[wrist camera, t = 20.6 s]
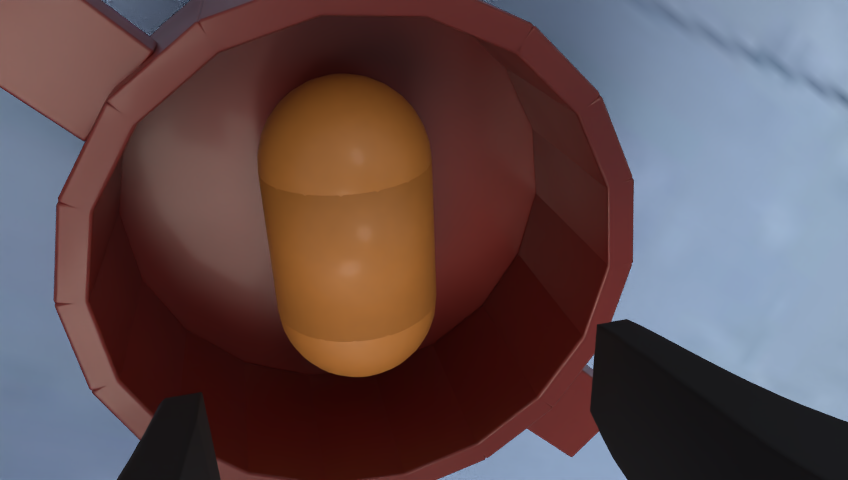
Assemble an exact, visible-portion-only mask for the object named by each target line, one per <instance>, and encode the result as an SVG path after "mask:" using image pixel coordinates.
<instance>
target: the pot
mask: <svg viewBox="0 0 848 480" xmlns="http://www.w3.org/2000/svg"><path fill="white" fill-rule="evenodd" d="M331 74H354V75H361V76H366V77H369V78H372V79H374V80H377V81H379V82H382V83H384V84H386V85H387V86H389V87H390V88H392V89H393V90H395V91H396V92H398V93H399V94H400V95H402V96H403V97H404V98H405V100H406V101H407V102H408V103H409V104H410V105H411V106H412V107H413V108H414V110H415V111H416V113H417V115H418V116H419V118H420V120H421V121H422V123H423V125H424V128H425V130H426V133H427V136H428V139H429V142H430V149H431V156H432V179H433V209H434V238H435V268H436V303H435V314H434V318H433V321H432V324H431V327H430V329H429V331H428V334H427V335H426V337H425V339H424V340H423V342H422V343H421V345H420V346H419V347H418V348H417V350H416V351H415V352H414V353H413V354H412V355H411V356H410V357H408V358H407V359H406V360H405V361H404V362H402V363H401V364H400V365H398V366H396V367H394V368H392V369H390V370H387V371H385V372H382V373H380V374H376V375H372V376H366V377H348V376H341V375H336V374H333V373H329V372H327V371H325V370H322V369H320V368H319V367H317V366H315V365H314V364H312V363H311V362H309V361H308V360H307V359H305V358H304V357H303V356H302V355H301V354H300V353H299V352H298V351H297V350H296V348H295V347H294V346H293V345H292V343H291V342H290V340H289V338H288V337H287V335H286V333H285V331H284V329H283V326H282V323H281V319H280V315H279V311H278V306H277V299H276V293H275V286H274V279H273V272H272V265H271V259H270V252H269V245H268V238H267V231H266V224H265V218H264V211H263V204H262V197H261V190H260V184H259V177H258V163H257V154H258V148H259V143H260V137H261V133H262V130H263V128H264V126H265V123H266V121H267V119H268V117H269V116H270V114H271V113H272V111H273V110H274V108H275V107H276V105H277V104H278V103H279V102H280V101H281V100H282V99H283V98H284V97H285V96H286V95H287V94H288V93H289V92H291V91H292V90H293V89H295V88H297V87H298V86H300V85H302V84H304V83H305V82H307V81H309V80H312V79H315V78H318V77H322V76H326V75H331ZM0 87H1V88H2V89H4V90H5V91H7V92H8V93H10V94H11V95H13V96H14V97H16V98H18V99H19V100H21V101H22V102H24V103H25V104H27V105H28V106H30V107H31V108H33V109H35V110H36V111H38V112H39V113H41V114H42V115H44V116H45V117H47V118H48V119H50V120H52V121H53V122H55V123H56V124H58V125H59V126H61V127H62V128H64V129H65V130H67V131H68V132H70V133H72V134H73V135H75V136H76V137H78V138H79V139H81V140H83V141H85V143H84V145H83V148H82V150H81V152H80V154H79V156H78V158H77V160H76V162H75V164H74V166H73V168H72V170H71V172H70V174H69V176H68V178H67V180H66V183H65V185H64V187H63V189H62V191H61V193H60V195H59V197H58V203H57V205H56V236H55V271H54V302H55V308H56V310H57V313H58V315H59V318H60V320H61V322H62V325H63V327H64V329H65V332H66V334H67V337H68V339H69V341H70V344H71V346H72V348H73V351H74V353H75V356H76V358H77V360H78V363H79V365H80V367H81V370H82V372H83V375H84V377H85V379H86V382H87V384H88V386H89V389H90V390H92V393H93V394H94V395H95V396H96V397H97V398H98V399H99V400H100V401H101V402H102V403H103V404H104V405H105V406H106V407H107V408H108V409H109V410H110V411H111V412H112V413H113V414H114V415H115V416H116V417H117V418H118V419H119V420H120V421H121V422H122V423H123V424H124V425H125V426H126V427H127V428H128V429H129V430H130V431H131V432H132V433H133V434H134V435H135V436H136V437H137V438H138V439H139V440H141V438H142V436H143V435H144V433H145V431H146V429H147V427H148V425H149V424H150V422H151V420H152V418H153V416H154V414H155V412H156V410H157V408H158V406H159V404H160V403H161V402H162V401H163V400H164V399H165V398H169V397H175V396H181V395H187V394H192V393H198V392H202V394H203V399H204V403H205V408H206V413H207V417H208V422H209V427H210V431H211V436H212V441H213V446H214V450H215V455H216V460H217V464H218V469H219V474H220V478H221V480H437V479H439V478H442V477H444V476H447V475H449V474H451V473H454V472H456V471H459V470H461V469H463V468H466V467H468V466H471V465H473V464H475V463H478V462H480V461H483V460H485V458H488V457H490V456H491V455H492V454H494V453H495V452H496V451H498V450H499V449H500V448H502V447H503V446H504V445H505V444H507V443H508V442H509V441H511V440H512V439H513V438H515V437H516V436H517V435H519V434H520V433H521V432H523V431H524V430H525V429H526V428H527V429H529V430H530V431H532V432H533V433H535V434H536V435H538V436H539V437H541V438H542V439H544V440H545V441H547V442H549V443H550V444H552V445H553V446H555V447H556V448H558V449H559V450H561V451H562V452H564V453H566V454H567V455H569V456H570V457H573V456H574V455H575V454H576V453H577V452H578V451H579V450H580V449H581V448H582V447H583V446H584V445H585V444H586V443H587V442H588V441H589V440H590V439H591V438H592V437H593V436H595V435H596V434H597V433H598V432H599V429H598V427H597V425H596V423H595V421H594V419H593V417H592V414H591V412H590V404H591V391H592V379H593V369H592V368H590V367H589V366H588V365H586V364H587V363H588V361H589V360H590V359H591V358H592V356H593V355H594V354H595V342H596V330H597V324H602V323H608V322H611V321H612V318H613V315H614V312H615V310H616V307H617V304H618V301H619V299H620V296H621V293H622V291H623V288H624V285H625V282H626V280H627V277H628V274H629V271H630V269H631V266H632V264H631V263H632V262H633V195H634V180H633V178H632V174H631V171H630V169H629V166H628V163H627V161H626V158H625V156H624V153H623V150H622V148H621V145H620V143H619V140H618V137H617V135H616V132H615V130H614V127H613V124H612V122H611V119H610V117H609V114H608V111H607V109H606V106H605V104H604V101H603V98H602V97H601V96H600V94H599V92H598V91H597V90H596V89H595V87H594V86H593V85H592V84H591V83H590V82H589V81H588V80H587V79H586V78H585V77H584V76H583V75H582V74H581V73H580V72H579V71H578V70H577V69H576V68H575V67H574V66H573V65H572V64H571V63H570V62H569V60H568V59H567V58H566V57H565V56H564V55H563V54H562V53H561V52H560V51H559V50H558V49H557V48H556V47H555V46H554V45H553V44H552V43H551V42H550V41H549V40H548V39H547V38H546V37H545V36H544V35H543V33H542V32H541V31H540V30H539V29H538V28H537V27H536V26H533V25H532V24H531V23H530V22H528V21H526V20H524V19H521V18H519V17H517V16H515V15H513V14H510V13H508V12H506V11H504V10H502V9H499V8H497V7H495V6H493V5H491V4H488V3H486V2H484V1H482V0H190V1H189V2H188V3H187V4H186V5H185V6H183V7H182V8H181V9H180V10H179V11H177V12H176V13H175V14H174V15H173V16H171V17H170V18H169V19H168V20H167V21H165V22H164V23H163V24H162V25H161V26H160V27H159V28H158V29H157V30H156V31H155V32H154V33H153V34H152V35H151V36H148V35H147V34H146V33H144V32H143V31H142V30H140V29H139V28H138V27H136V26H135V25H134V24H132V23H131V22H130V21H128V20H127V19H126V18H124V17H123V16H122V15H120V14H119V13H118V12H116V11H115V10H114V9H112V8H111V7H110V6H108V5H107V4H106V3H104V2H103V1H102V0H0Z"/></svg>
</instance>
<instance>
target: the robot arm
mask: <svg viewBox="0 0 848 480" xmlns="http://www.w3.org/2000/svg"><path fill="white" fill-rule="evenodd" d="M590 412H591V414H592V417H593V419H594V421H595V423H596V425H597V427H598V429H599V431H600V433H601V436H602V438H603V440H604V441H605V443H606V445H607V447H608V449H609V451H610V453H611V455H612V457H613V459H614V460H615V462H616V463H617V465H618V466H619V468H620V469H621V471H622V472H623V474H624V475H625V477H626V478H627V480H848V422H846V421H843V420H840V419H838V418H835V417H832V416H830V415H827V414H824V413H822V412H819V411H817V410H814V409H811V408H809V407H806V406H803V405H801V404H799V403H796V402H794V401H791V400H789V399H787V398H784V397H782V396H780V395H777V394H775V393H773V392H771V391H769V390H767V389H764V388H762V387H760V386H758V385H756V384H753V383H751V382H749V381H747V380H745V379H743V378H741V377H739V376H737V375H735V374H733V373H731V372H729V371H727V370H725V369H723V368H721V367H719V366H717V365H715V364H713V363H711V362H709V361H707V360H705V359H703V358H701V357H700V356H698V355H696V354H694V353H692V352H690V351H688V350H686V349H684V348H683V347H681V346H679V345H677V344H675V343H673V342H671V341H669V340H668V339H666V338H664V337H662V336H660V335H658V334H656V333H654V332H652V331H650V330H648V329H646V328H644V327H642V326H640V325H638V324H636V323H634V322H632V321H630V320H627V319H626V320H620V321H614V322H608V323H602V324H597V330H596V342H595V354H594V367H593V379H592V391H591V404H590ZM117 480H221V478H220V474H219V469H218V464H217V460H216V455H215V450H214V446H213V441H212V436H211V431H210V427H209V422H208V417H207V413H206V408H205V403H204V399H203V394H202V392H198V393H192V394H187V395H181V396H175V397H169V398H165V399H164V400H163V401H162V402H161V403H160V404H159V406H158V408H157V410H156V412H155V414H154V416H153V418H152V420H151V422H150V424H149V425H148V427H147V429H146V431H145V433H144V435H143V436H142V438H141V440H140V442H139V444H138V445H137V447H136V449H135V451H134V452H133V454H132V456H131V457H130V459H129V461H128V462H127V464H126V466H125V467H124V469H123V470H122V472H121V474H120V475H119V477H118V479H117Z"/></svg>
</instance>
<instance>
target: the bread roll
mask: <svg viewBox="0 0 848 480" xmlns="http://www.w3.org/2000/svg"><path fill="white" fill-rule="evenodd" d="M257 163H258V177H259V184H260V190H261V197H262V204H263V211H264V218H265V224H266V231H267V238H268V245H269V252H270V259H271V265H272V272H273V279H274V286H275V293H276V299H277V306H278V311H279V315H280V319H281V323H282V326H283V329H284V331H285V333H286V335H287V337H288V338H289V340H290V342H291V343H292V345H293V346H294V347H295V348H296V350H297V351H298V352H299V353H300V354H301V355H302V356H303V357H304V358H305V359H307V360H308V361H309V362H311V363H312V364H314V365H315V366H317V367H319V368H320V369H322V370H325V371H327V372H329V373H333V374H336V375H341V376H348V377H366V376H372V375H376V374H380V373H382V372H385V371H387V370H390V369H392V368H394V367H396V366H398V365H400V364H401V363H402V362H404V361H405V360H406V359H407V358H408V357H410V356H411V355H412V354H413V353H414V352H415V351H416V350H417V348H418V347H419V346H420V345H421V343H422V342H423V340H424V339H425V337H426V335H427V334H428V331H429V329H430V327H431V324H432V321H433V318H434V314H435V303H436V268H435V238H434V209H433V179H432V156H431V149H430V142H429V139H428V136H427V133H426V130H425V128H424V125H423V123H422V121H421V120H420V118H419V116H418V115H417V113H416V111H415V110H414V108H413V107H412V106H411V105H410V104H409V103H408V102H407V101H406V100H405V98H404V97H403V96H402V95H400V94H399V93H398V92H396V91H395V90H393V89H392V88H390V87H389V86H387V85H386V84H384V83H382V82H379V81H377V80H374V79H372V78H369V77H366V76H361V75H354V74H331V75H326V76H322V77H318V78H315V79H312V80H309V81H307V82H305V83H304V84H302V85H300V86H298V87H297V88H295V89H293V90H292V91H291V92H289V93H288V94H287V95H286V96H285V97H284V98H283V99H282V100H281V101H280V102H279V103H278V104H277V105H276V107H275V108H274V110H273V111H272V113H271V114H270V116H269V117H268V119H267V121H266V123H265V126H264V128H263V130H262V133H261V137H260V143H259V148H258V154H257Z"/></svg>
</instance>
